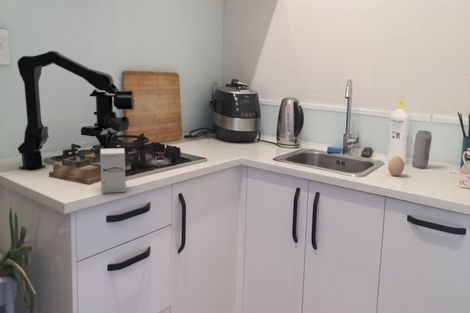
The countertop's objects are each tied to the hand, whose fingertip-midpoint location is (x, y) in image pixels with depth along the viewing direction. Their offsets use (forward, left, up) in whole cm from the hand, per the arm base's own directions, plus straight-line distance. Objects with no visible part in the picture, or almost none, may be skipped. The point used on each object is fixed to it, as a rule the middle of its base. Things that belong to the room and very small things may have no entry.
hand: (106, 151), depth 154 cm
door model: (0, -10, -6) cm, 12 cm away
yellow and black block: (0, -6, -2) cm, 6 cm away
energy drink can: (+105, +69, -7) cm, 126 cm away
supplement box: (+19, -18, -7) cm, 27 cm away
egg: (+97, +49, -7) cm, 109 cm away
